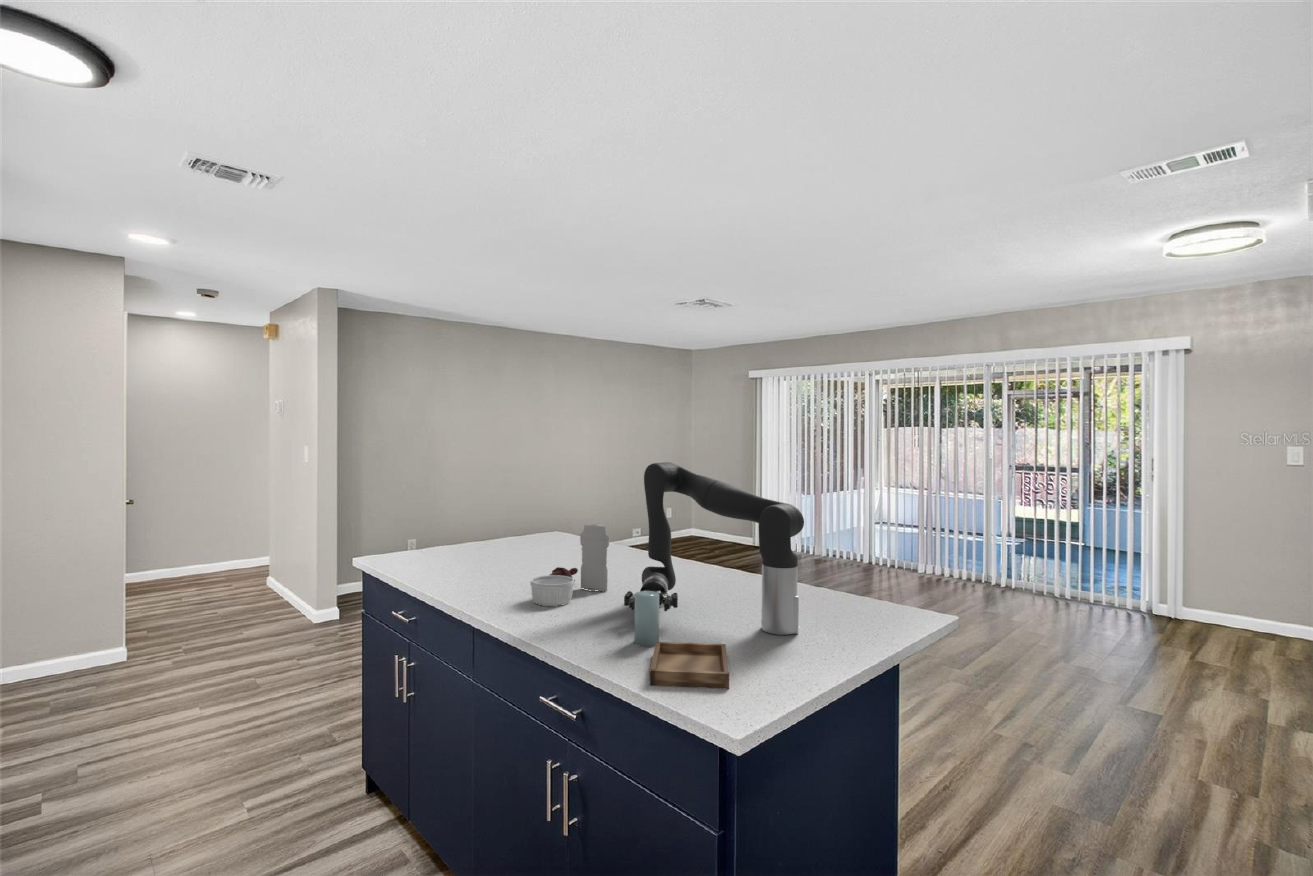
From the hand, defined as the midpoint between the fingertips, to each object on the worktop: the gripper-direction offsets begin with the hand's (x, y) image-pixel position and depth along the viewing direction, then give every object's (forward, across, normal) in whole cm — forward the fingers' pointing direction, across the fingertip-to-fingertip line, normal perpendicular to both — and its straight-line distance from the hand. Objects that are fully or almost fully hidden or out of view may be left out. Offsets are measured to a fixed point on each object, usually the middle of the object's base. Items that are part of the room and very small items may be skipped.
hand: (649, 606), depth 156 cm
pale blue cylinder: (+7, 0, +7) cm, 10 cm away
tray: (+24, +11, +7) cm, 27 cm away
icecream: (-46, -34, +7) cm, 58 cm away
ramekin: (-27, -32, +7) cm, 43 cm away
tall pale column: (-43, -22, +7) cm, 49 cm away
